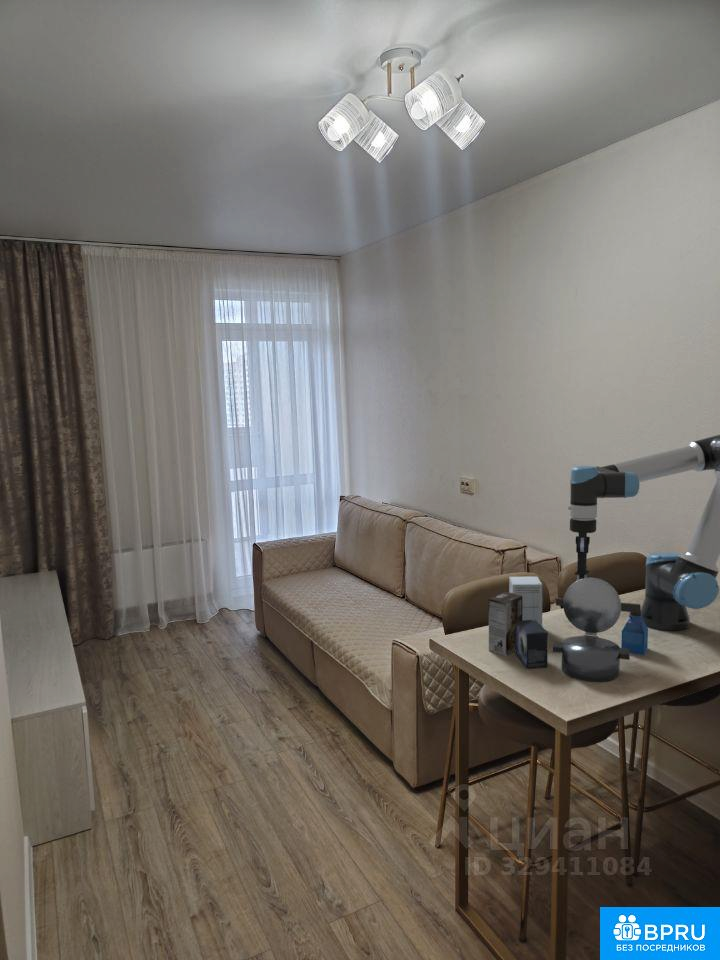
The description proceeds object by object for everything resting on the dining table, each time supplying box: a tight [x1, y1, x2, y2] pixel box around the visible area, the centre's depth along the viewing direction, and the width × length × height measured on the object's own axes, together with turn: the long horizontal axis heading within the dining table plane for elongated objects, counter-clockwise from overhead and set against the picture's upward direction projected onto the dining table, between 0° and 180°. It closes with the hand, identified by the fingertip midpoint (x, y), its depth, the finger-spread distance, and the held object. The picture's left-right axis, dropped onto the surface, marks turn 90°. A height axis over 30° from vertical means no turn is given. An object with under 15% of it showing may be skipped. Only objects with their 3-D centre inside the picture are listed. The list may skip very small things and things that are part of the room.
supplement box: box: [508, 576, 543, 627], centre depth 210 cm, size 10×9×17 cm
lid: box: [555, 577, 642, 636], centre depth 187 cm, size 23×16×2 cm
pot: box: [551, 634, 631, 683], centre depth 180 cm, size 20×16×7 cm
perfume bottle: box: [620, 609, 649, 657], centre depth 192 cm, size 6×6×12 cm
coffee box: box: [488, 591, 522, 657], centre depth 195 cm, size 9×6×16 cm
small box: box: [514, 620, 549, 670], centre depth 186 cm, size 11×6×10 cm, turn 5°
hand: (581, 595), depth 198 cm, fingers closed
